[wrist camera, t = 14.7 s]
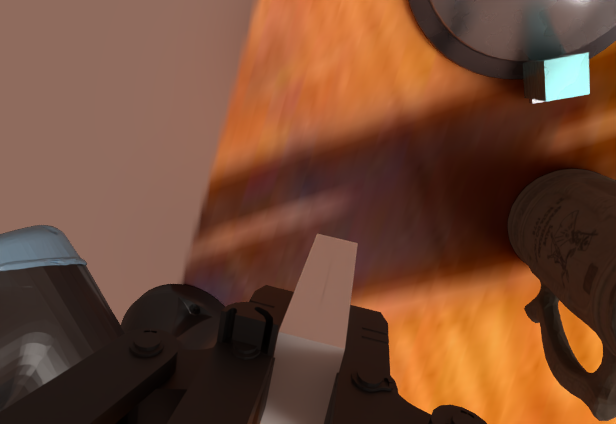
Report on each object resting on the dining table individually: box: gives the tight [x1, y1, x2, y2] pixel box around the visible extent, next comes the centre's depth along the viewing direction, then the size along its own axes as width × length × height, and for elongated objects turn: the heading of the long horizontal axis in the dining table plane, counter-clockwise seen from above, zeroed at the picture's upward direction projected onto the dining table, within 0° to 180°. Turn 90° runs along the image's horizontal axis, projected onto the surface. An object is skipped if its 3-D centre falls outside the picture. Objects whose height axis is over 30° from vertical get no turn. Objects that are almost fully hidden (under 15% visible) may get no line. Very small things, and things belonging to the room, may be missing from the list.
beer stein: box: [508, 169, 616, 421], centre depth 34 cm, size 15×11×20 cm
